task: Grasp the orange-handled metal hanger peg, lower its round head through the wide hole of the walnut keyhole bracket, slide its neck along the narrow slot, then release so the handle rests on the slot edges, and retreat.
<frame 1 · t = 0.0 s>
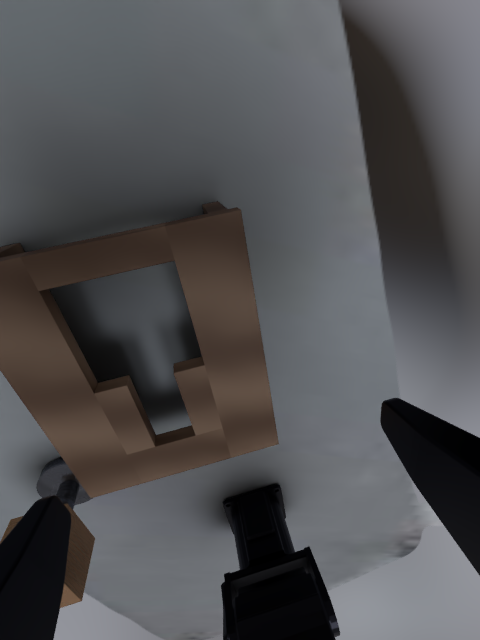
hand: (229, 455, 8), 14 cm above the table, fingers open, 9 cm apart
keyhole bracket: (157, 345, 22), on the table
hanger peg: (72, 476, 27), on the table
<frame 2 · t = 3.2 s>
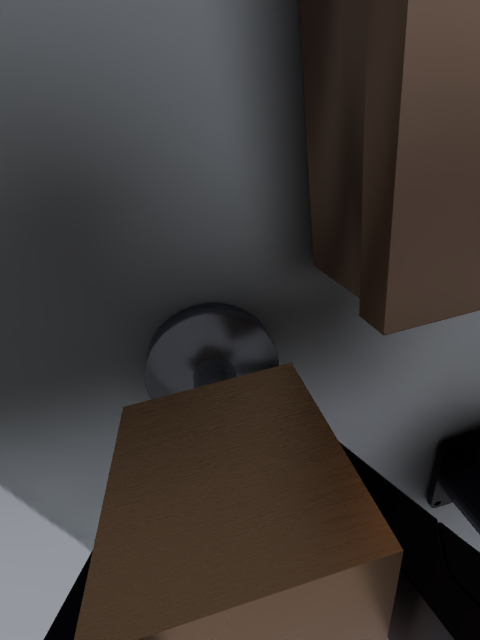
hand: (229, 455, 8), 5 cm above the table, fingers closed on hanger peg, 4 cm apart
hanger peg: (211, 360, 12), on the table, touching gripper
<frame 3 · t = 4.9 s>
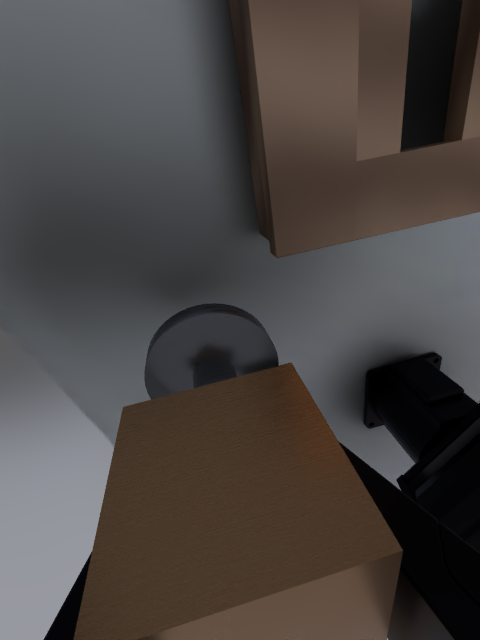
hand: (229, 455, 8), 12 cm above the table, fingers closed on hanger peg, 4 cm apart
keyhole bracket: (367, 38, 14), on the table
hanger peg: (211, 360, 12), point 7 cm above the table, touching gripper
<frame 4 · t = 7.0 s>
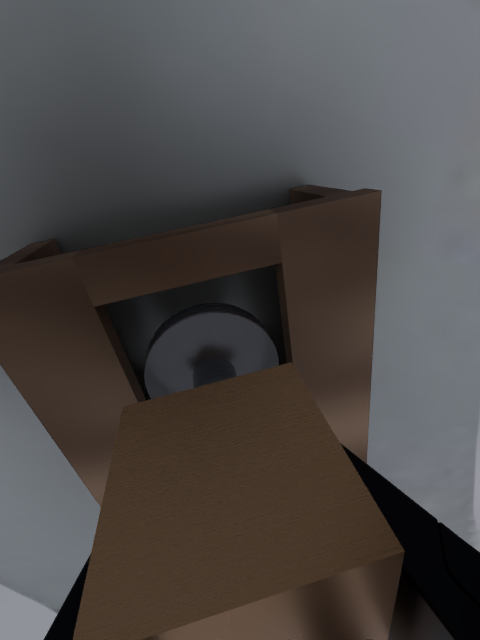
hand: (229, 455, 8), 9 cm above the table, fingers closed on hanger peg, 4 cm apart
keyhole bracket: (216, 365, 18), on the table
hanger peg: (211, 360, 12), point 5 cm above the table, touching gripper
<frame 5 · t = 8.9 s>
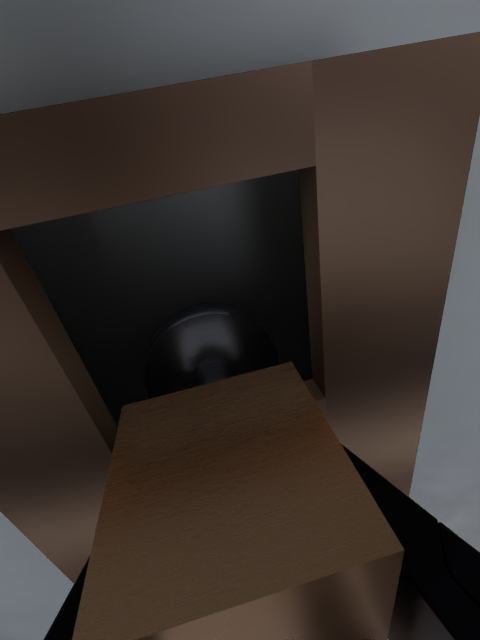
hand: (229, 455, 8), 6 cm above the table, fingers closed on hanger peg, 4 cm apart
keyhole bracket: (210, 354, 14), on the table
hanger peg: (211, 359, 12), point 2 cm above the table, touching gripper
when the fingers open (6 cm above the table, at t = 10.8 s): hanger peg drops 1 cm, resting on keyhole bracket.
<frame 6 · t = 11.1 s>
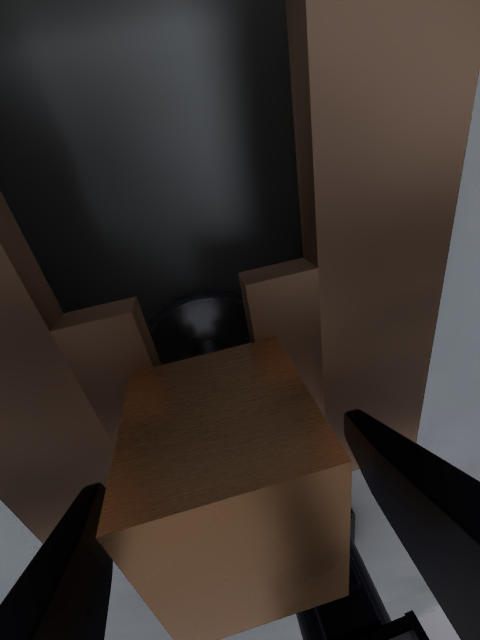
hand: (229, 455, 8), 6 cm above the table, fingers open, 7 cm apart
keyhole bracket: (188, 265, 12), on the table
hanger peg: (208, 344, 13), resting on keyhole bracket
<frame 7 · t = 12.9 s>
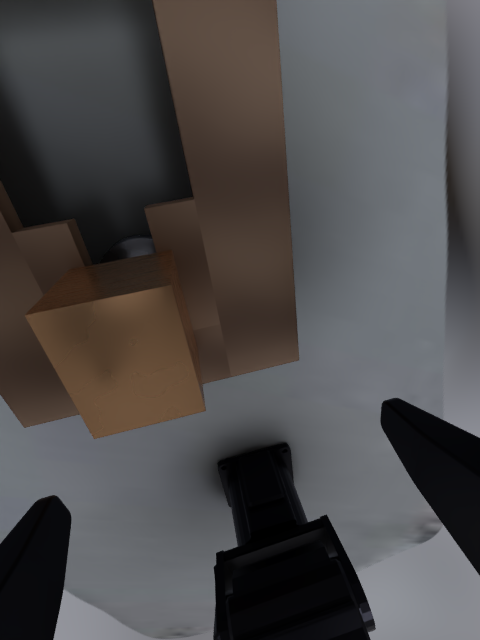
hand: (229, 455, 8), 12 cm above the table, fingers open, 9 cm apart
keyhole bracket: (129, 214, 16), on the table
hanger peg: (148, 279, 17), resting on keyhole bracket
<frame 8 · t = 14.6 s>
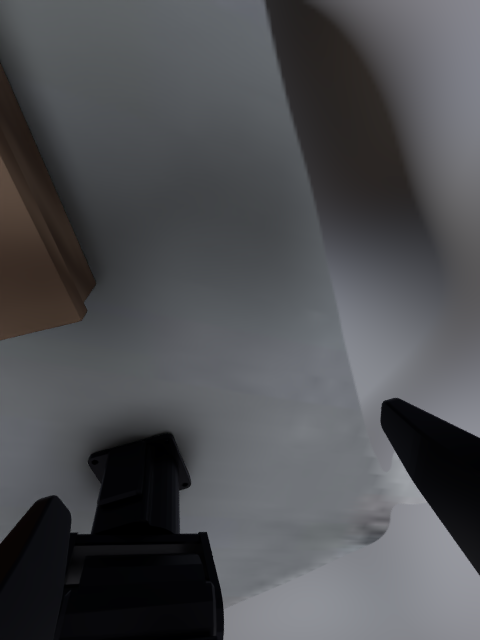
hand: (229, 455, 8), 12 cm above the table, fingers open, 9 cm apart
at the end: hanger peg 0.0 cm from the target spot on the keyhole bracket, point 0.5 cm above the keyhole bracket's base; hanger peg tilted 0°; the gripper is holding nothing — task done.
